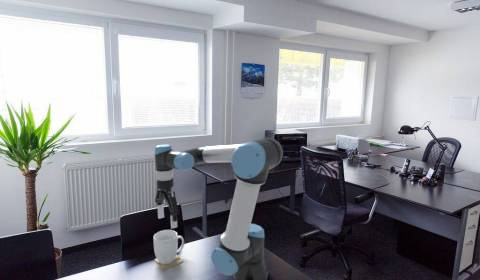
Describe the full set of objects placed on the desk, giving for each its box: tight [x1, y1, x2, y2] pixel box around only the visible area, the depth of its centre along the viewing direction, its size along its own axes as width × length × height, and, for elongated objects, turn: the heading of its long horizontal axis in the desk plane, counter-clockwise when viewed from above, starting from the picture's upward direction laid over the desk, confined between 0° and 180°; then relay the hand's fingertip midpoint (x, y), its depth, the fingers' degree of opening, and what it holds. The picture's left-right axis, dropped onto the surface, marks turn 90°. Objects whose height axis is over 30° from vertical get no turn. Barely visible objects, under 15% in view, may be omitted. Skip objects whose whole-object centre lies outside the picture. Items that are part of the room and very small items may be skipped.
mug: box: [152, 229, 185, 264], centre depth 142 cm, size 15×11×13 cm
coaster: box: [154, 254, 184, 271], centre depth 143 cm, size 10×10×1 cm
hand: (167, 222), depth 139 cm, fingers open, 13 cm apart
